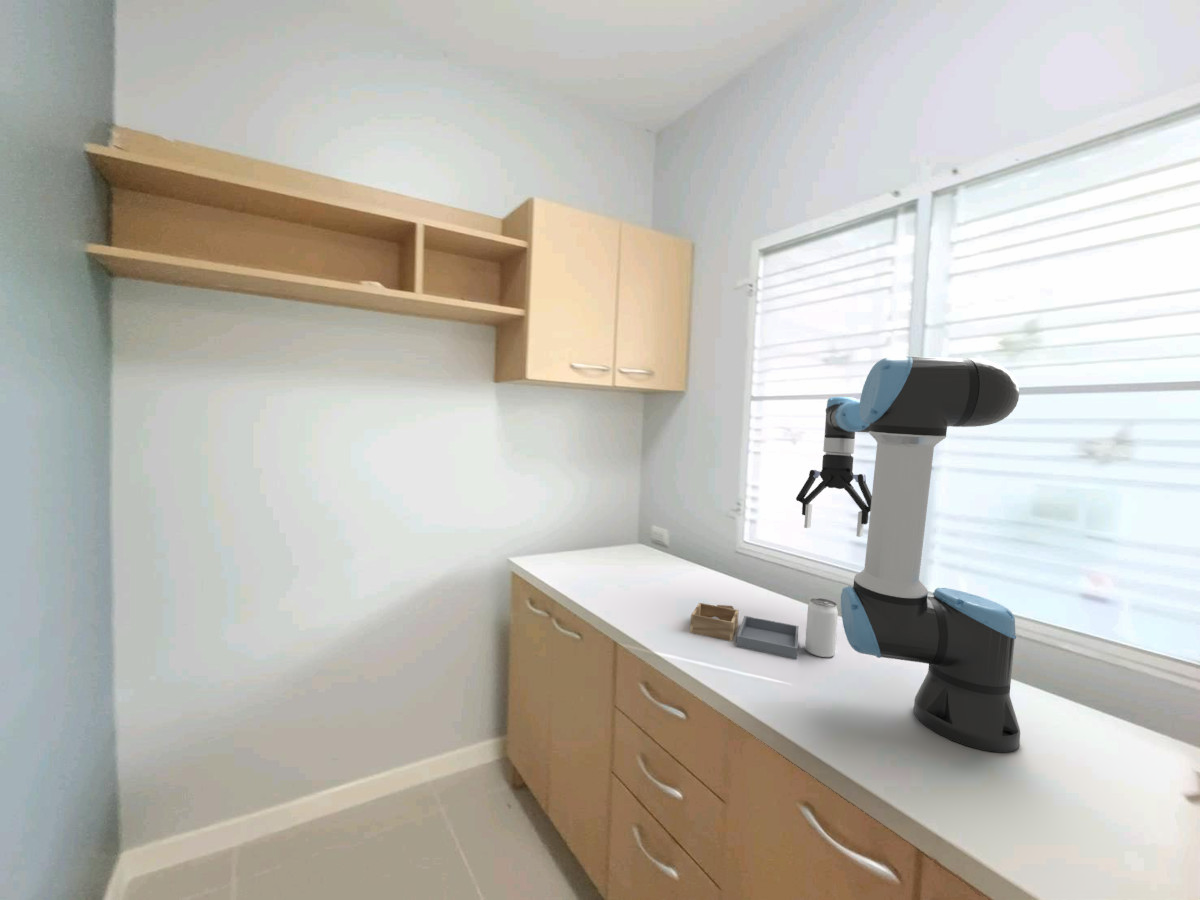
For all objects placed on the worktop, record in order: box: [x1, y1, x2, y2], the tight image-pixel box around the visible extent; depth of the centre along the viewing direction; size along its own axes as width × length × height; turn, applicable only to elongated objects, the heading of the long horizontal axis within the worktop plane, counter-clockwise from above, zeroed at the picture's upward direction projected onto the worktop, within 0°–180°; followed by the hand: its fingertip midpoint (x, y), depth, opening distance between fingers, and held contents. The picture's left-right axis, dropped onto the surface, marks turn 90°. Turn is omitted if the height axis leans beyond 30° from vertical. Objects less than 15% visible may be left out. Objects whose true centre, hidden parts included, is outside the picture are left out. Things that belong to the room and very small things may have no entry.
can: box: [804, 597, 839, 659], centre depth 115 cm, size 6×6×12 cm
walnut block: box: [716, 604, 735, 609], centre depth 131 cm, size 4×4×4 cm
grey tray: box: [735, 615, 799, 660], centre depth 119 cm, size 15×13×3 cm
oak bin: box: [689, 602, 740, 642], centre depth 124 cm, size 10×10×5 cm
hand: (832, 531), depth 134 cm, fingers open, 13 cm apart
